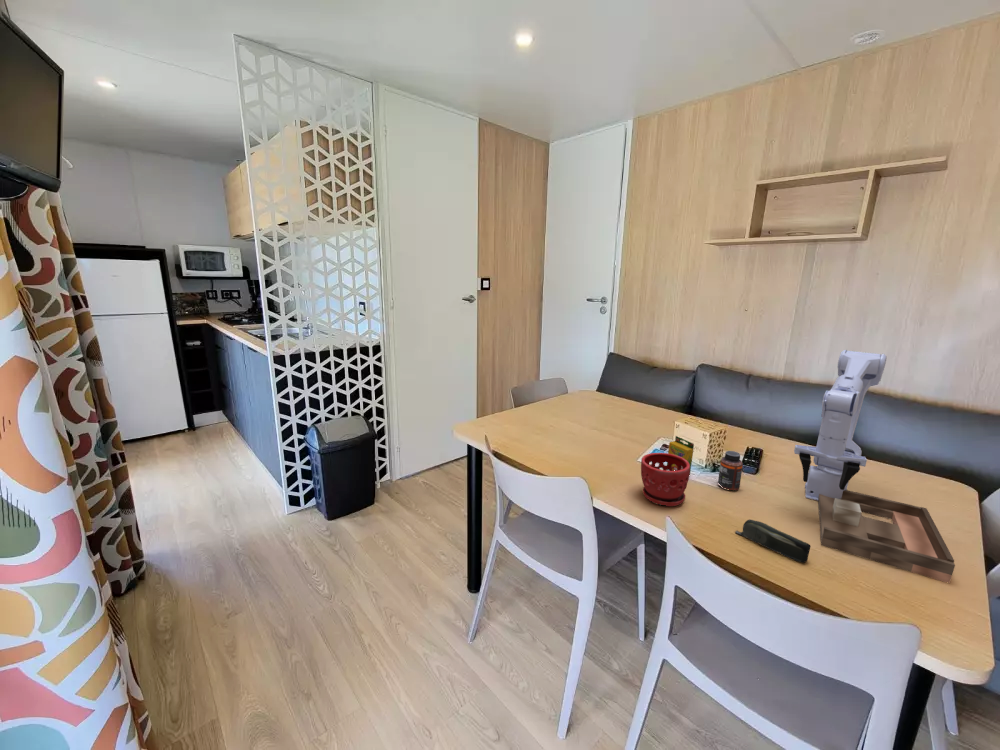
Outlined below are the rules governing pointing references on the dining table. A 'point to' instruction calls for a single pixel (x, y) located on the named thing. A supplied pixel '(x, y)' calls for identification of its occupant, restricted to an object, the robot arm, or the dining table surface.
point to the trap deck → (888, 535)
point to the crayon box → (681, 451)
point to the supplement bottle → (730, 471)
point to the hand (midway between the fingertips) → (822, 484)
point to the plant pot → (664, 478)
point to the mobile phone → (776, 540)
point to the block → (846, 512)
